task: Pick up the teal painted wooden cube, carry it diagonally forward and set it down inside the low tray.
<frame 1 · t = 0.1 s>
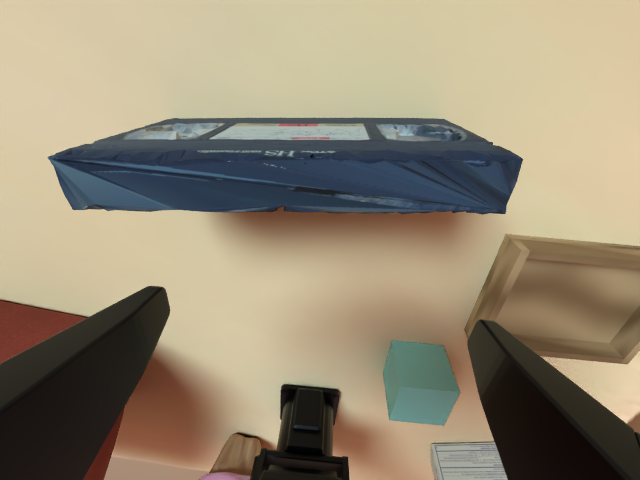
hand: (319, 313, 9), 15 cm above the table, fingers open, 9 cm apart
medicine box: (461, 448, 39), on the table
tray: (561, 293, 26), on the table
vhs cassette tape: (304, 135, 21), on the table
cube: (411, 359, 31), on the table
cupcake: (245, 439, 41), on the table
plant pot: (68, 349, 34), on the table
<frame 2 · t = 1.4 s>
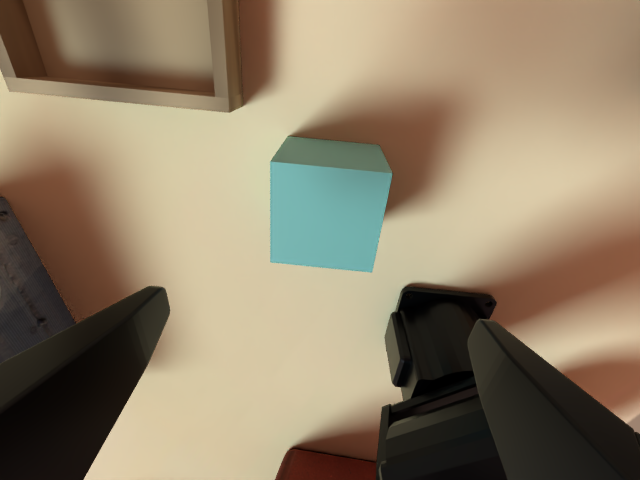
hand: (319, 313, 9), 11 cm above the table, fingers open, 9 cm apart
vhs cassette tape: (52, 300, 24), on the table
cube: (329, 183, 18), on the table
plant pot: (332, 478, 37), on the table
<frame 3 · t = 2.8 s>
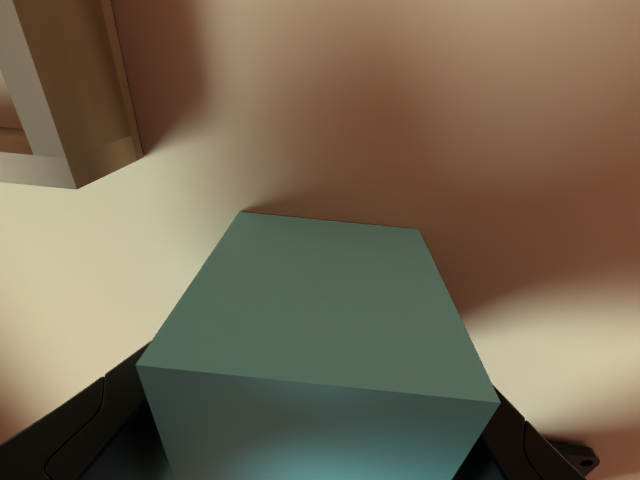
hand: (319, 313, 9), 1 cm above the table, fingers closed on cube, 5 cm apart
cube: (321, 290, 10), on the table, touching gripper
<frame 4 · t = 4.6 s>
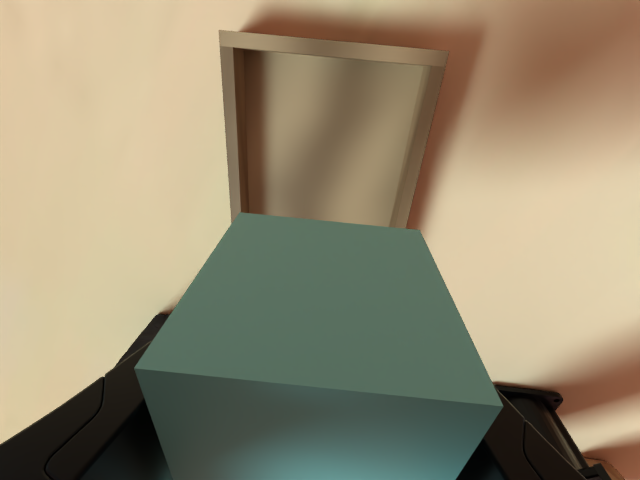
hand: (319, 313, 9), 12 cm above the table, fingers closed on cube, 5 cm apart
tray: (323, 172, 19), on the table
vhs cassette tape: (193, 381, 30), on the table
cube: (321, 291, 10), point 11 cm above the table, touching gripper
cupcake: (574, 464, 32), on the table
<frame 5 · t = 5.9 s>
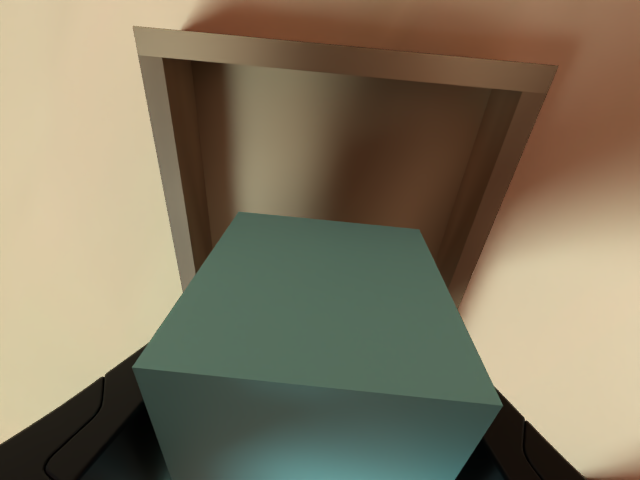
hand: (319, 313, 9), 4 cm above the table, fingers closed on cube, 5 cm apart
tray: (324, 237, 13), on the table
cube: (321, 290, 10), point 3 cm above the table, touching gripper
when the fingers open (3 cm above the table, at t = 6.6 s): cube drops 1 cm, resting on tray.
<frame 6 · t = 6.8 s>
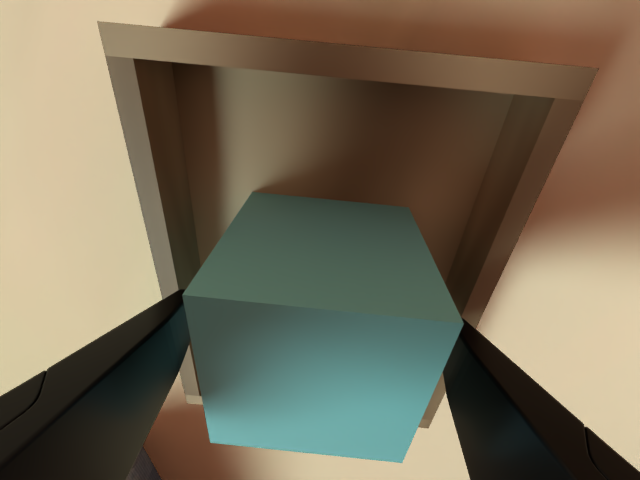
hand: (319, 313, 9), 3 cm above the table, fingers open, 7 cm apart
tray: (323, 255, 11), on the table
cube: (323, 263, 11), point 1 cm above the table, touching tray
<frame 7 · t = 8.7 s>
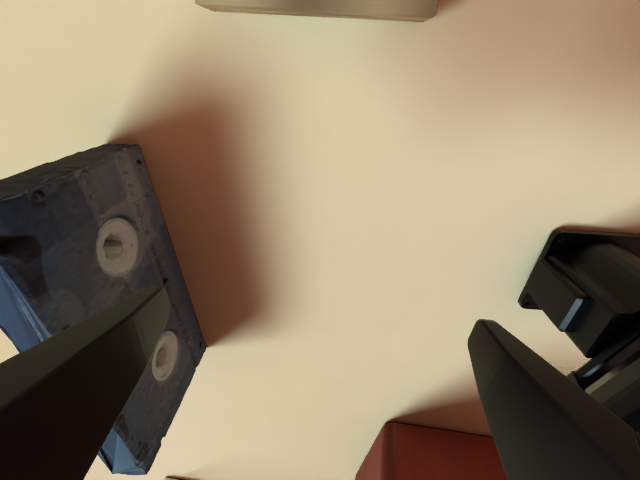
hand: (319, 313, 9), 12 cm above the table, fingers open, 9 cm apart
vhs cassette tape: (166, 263, 23), on the table
plant pot: (423, 454, 36), on the table
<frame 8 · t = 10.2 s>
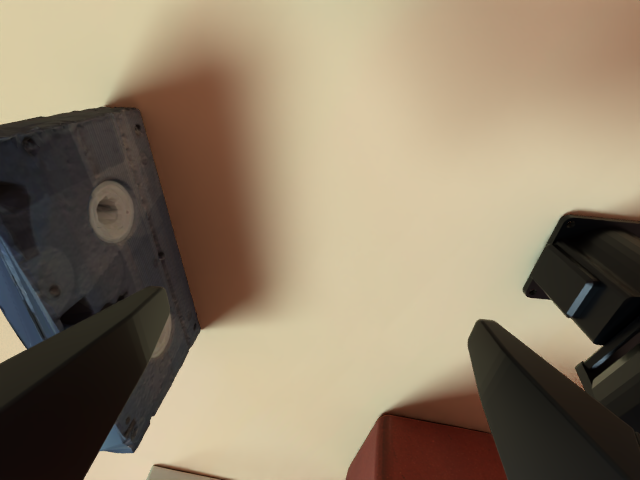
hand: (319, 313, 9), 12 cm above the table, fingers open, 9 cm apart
vhs cassette tape: (162, 239, 23), on the table
plant pot: (417, 449, 35), on the table
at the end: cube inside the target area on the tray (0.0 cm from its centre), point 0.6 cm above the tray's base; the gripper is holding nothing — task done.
